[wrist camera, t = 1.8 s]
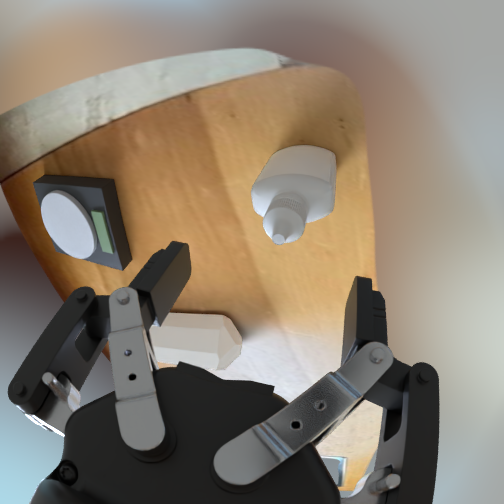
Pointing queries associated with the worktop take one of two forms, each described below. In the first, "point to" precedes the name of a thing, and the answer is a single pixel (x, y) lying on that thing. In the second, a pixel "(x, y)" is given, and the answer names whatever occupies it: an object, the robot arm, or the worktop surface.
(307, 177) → the eye dropper bottle
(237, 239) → the worktop surface
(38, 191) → the kitchen scale
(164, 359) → the chamfered white bar
